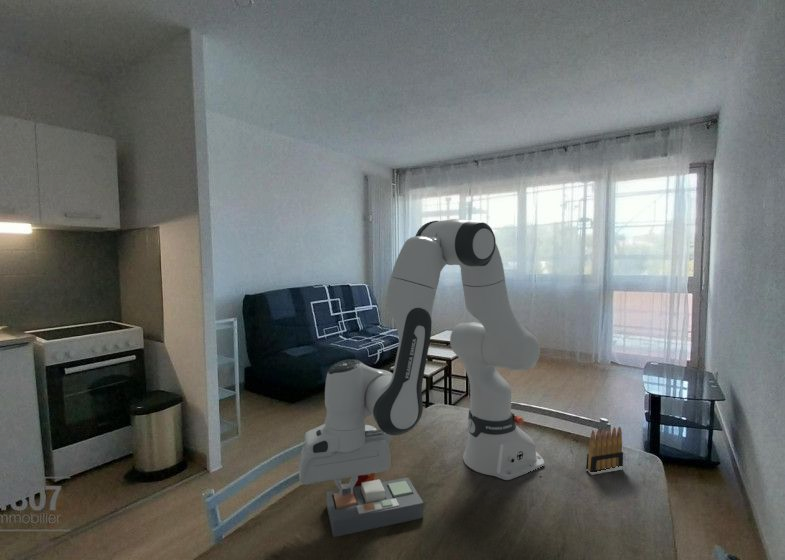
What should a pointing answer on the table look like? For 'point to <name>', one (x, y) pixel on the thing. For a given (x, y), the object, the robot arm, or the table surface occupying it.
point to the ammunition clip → (605, 450)
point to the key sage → (399, 489)
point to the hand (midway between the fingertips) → (345, 493)
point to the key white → (372, 491)
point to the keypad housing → (374, 510)
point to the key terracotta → (344, 500)
